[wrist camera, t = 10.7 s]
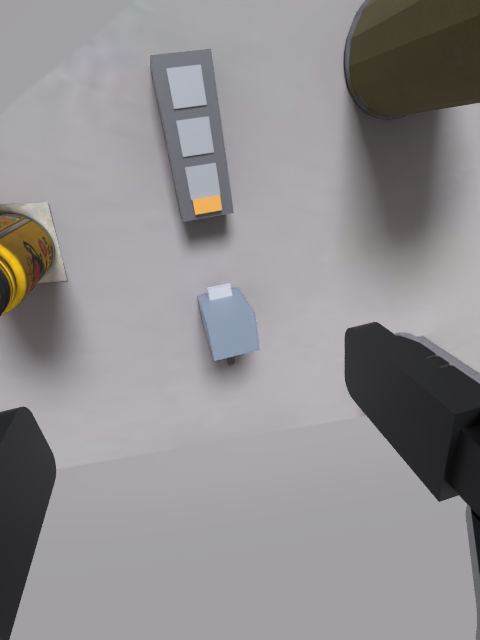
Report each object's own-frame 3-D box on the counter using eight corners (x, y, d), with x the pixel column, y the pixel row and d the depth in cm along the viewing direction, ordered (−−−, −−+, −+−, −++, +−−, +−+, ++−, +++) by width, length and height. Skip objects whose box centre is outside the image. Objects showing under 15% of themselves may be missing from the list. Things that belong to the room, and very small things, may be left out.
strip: (204, 60, 29) (211, 47, 26) (226, 207, 35) (234, 213, 31) (150, 66, 29) (150, 53, 25) (180, 215, 34) (184, 222, 31)
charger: (236, 277, 38) (253, 300, 32) (247, 355, 42) (265, 390, 36) (195, 285, 37) (204, 311, 31) (211, 364, 42) (222, 401, 35)
